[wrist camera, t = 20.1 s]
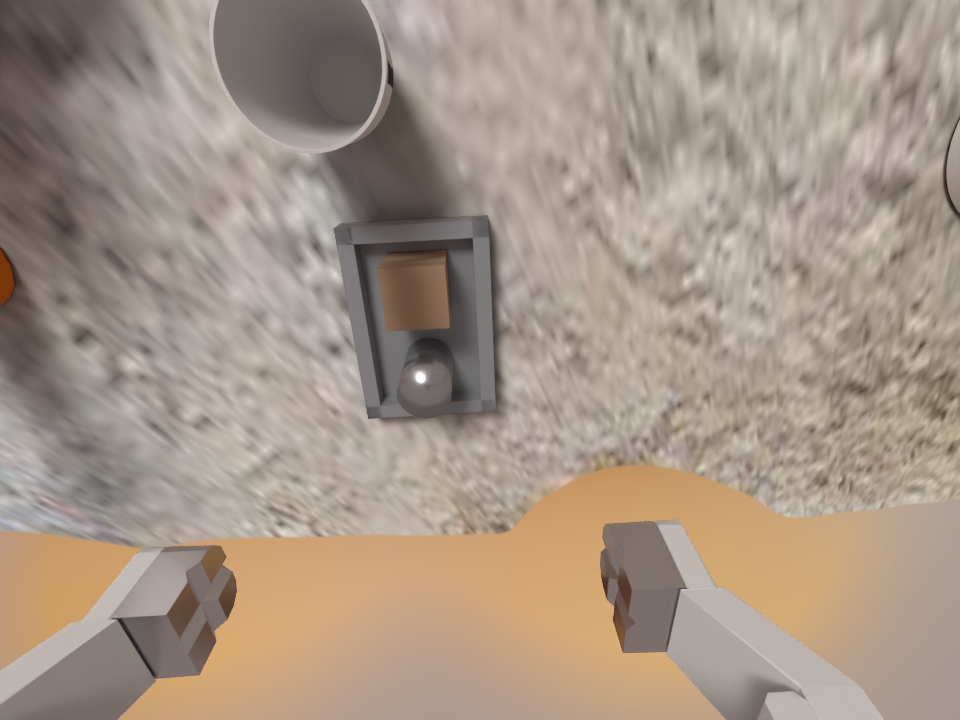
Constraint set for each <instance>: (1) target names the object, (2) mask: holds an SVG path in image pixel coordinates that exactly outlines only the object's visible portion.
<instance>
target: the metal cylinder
mask: <svg viewBox="0 0 960 720" xmlns="http://www.w3.org/2000/svg"><path fill="white" fill-rule="evenodd" d="M452 369H453V356H452V352H451V350H450V349H449V347H448V346H447V345H446V344H445V343H444V342H442V341H440V340H438V339H435V338H423V339H419V340H417V341H415V342H414V343H413V344H412V345H411V346H410V347H409V349H408V350H407V353H406V357H405V361H404V365H403V369H402V373H401V376H400V380H399V384H398V388H397V399H398V402H399V404H400V405H401V407H402V408H403V409H404V410H405V411H406V412H408V413H409V414H411V415H413V416H416V417H422V418H428V417H434V416H436V415H439V414H440V413H442V412H443V411H444V410H445V409H446V408H447V407H448V405H449V403H450V401H451V394H452Z"/></svg>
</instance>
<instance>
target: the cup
mask: <svg viewBox="0 0 960 720" xmlns="http://www.w3.org/2000/svg"><path fill="white" fill-rule="evenodd" d="M209 44H210V52H211V57H212V62H213V65H214V69H215V72H216V75H217V78H218V80H219V83H220V85H221V87H222V89H223V91H224V93H225V95H226V97H227V98H228V100H229V102H230V103H231V105H232V106H233V107H234V109H235V110H236V112H237V113H238V114H239V115H240V116H241V118H242V119H243V120H244V121H245V122H246V123H247V124H248V125H249V126H250V127H251V128H252V129H254V130H255V131H256V132H257V133H259V134H260V135H261V136H263V137H264V138H266V139H267V140H269V141H271V142H272V143H274V144H276V145H278V146H281V147H283V148H286V149H289V150H292V151H296V152H302V153H324V152H329V151H333V150H336V149H339V148H342V147H344V146H347V145H350V144H353V143H355V142H357V141H359V140H361V139H363V138H364V137H366V136H367V135H368V134H370V133H371V132H372V131H373V130H374V129H375V128H376V127H377V125H378V124H379V123H380V121H381V120H382V118H383V116H384V115H385V113H386V110H387V108H388V105H389V102H390V99H391V94H392V88H393V67H392V60H391V55H390V51H389V48H388V45H387V42H386V40H385V37H384V35H383V33H382V31H381V28H380V26H379V24H378V22H377V19H376V17H375V15H374V13H373V11H372V9H371V7H370V5H369V3H368V2H367V0H214V1H213V5H212V9H211V14H210V21H209Z"/></svg>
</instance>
